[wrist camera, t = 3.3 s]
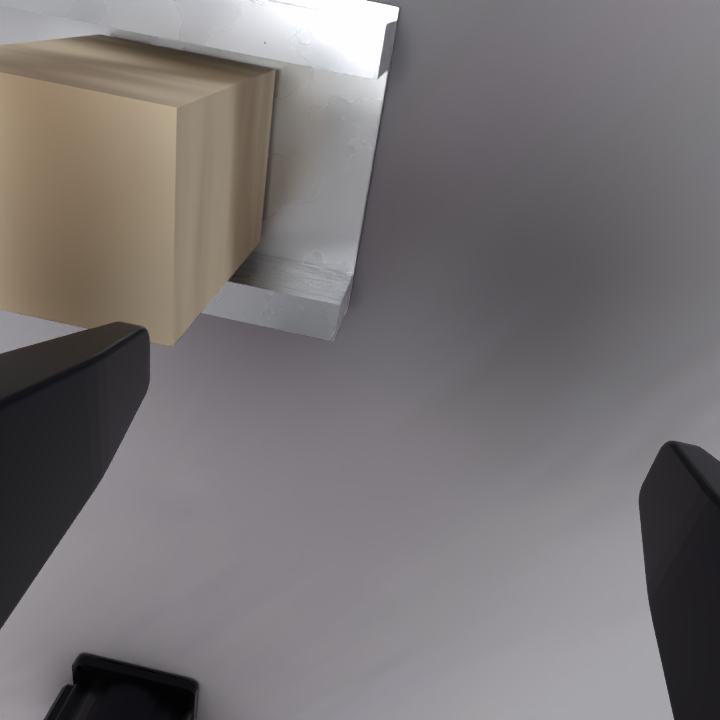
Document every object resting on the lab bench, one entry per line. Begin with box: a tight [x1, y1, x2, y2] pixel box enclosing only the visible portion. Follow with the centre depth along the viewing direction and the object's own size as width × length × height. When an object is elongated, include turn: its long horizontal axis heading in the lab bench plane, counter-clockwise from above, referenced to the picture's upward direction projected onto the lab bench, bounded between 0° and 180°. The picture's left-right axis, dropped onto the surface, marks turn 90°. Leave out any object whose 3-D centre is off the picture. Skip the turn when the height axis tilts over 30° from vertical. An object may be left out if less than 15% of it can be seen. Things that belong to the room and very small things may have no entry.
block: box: [0, 34, 276, 347], centre depth 16 cm, size 5×5×7 cm
